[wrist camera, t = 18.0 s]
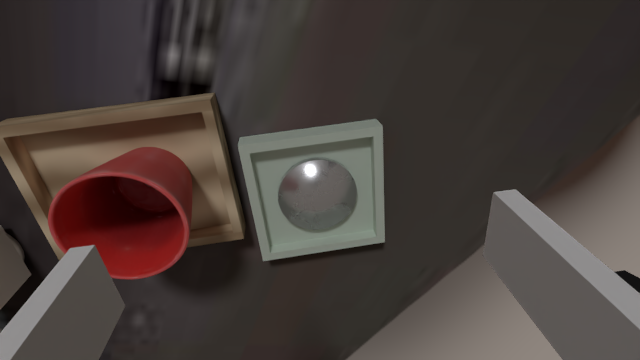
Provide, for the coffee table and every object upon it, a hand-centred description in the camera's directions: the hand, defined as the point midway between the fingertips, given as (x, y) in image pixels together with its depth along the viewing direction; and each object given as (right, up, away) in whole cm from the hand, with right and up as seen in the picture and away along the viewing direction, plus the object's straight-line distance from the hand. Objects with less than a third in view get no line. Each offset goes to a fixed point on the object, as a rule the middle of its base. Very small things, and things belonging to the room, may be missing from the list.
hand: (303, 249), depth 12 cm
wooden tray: (-19, +3, +27) cm, 33 cm away
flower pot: (-17, +3, +26) cm, 31 cm away
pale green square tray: (0, +1, +30) cm, 30 cm away
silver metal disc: (0, +1, +29) cm, 29 cm away
